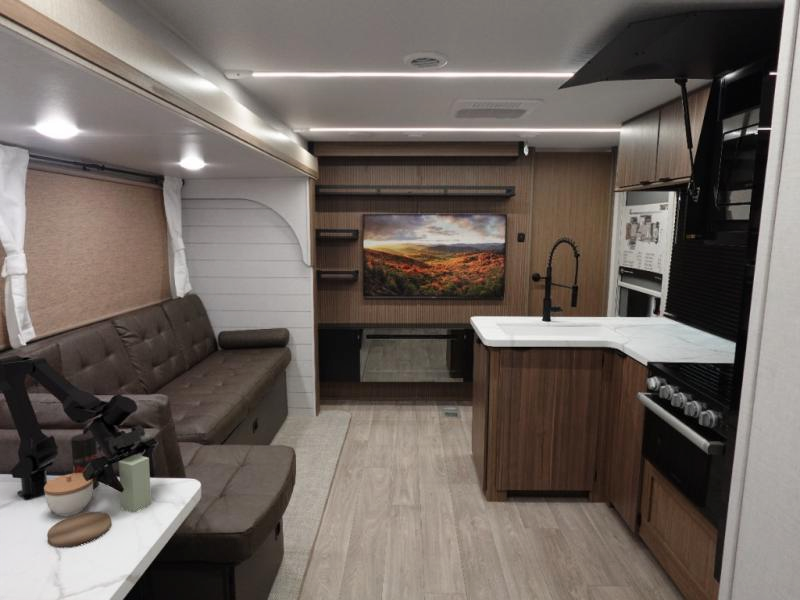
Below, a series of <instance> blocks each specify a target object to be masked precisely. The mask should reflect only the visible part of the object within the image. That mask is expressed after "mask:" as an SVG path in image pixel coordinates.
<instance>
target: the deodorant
mask: <svg viewBox="0 0 800 600" xmlns="http://www.w3.org/2000/svg"><path fill="white" fill-rule="evenodd" d="M70 442H71V454H72V455H71V457H72V469H73V471H72V474H73V473H83V470H84V469H85V468H86V466H87V465H88V464H89V463H90V461H92V460H95V459H97V458H98V449H97V448H98V443H97V441H96V440H95V438H94V436H93V435H92V433H88V434H83V433H80V434H77V435H74V436H72V437H71V440H70ZM99 485H100V482H98V481H94V482H93V490H95V489H97V488H98V487H99Z"/></svg>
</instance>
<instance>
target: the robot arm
mask: <svg viewBox="0 0 800 600" xmlns="http://www.w3.org/2000/svg"><path fill="white" fill-rule="evenodd" d="M27 375H29V376H30V377H31V378H33V379H34V381H36V382H37V383H38V384H39V385H40V386H41V387H43V388H44V389H45V390H46V392H47V391H48V392H49V393H50V394H51V395H52V396H53V397H54V398H56V399H57V400H58V401H59V402H60V403H61V405H62V409H63V412H64V413H65V414H66V415H67V417H68V418H69V419H70V420H71V421H72V422H73V423H74V424H84V423H85V422H88V421H89V420H92V421H91V422H88V423H85V424H84V428H83V430H82V434H88V433H92V435H93V436H94V438H95V440H96V444H97V445H98V446H97V451H98V452H103V454H104V455H105V456H104V455H102V456H100V457H97V459H95V460H92V461H90V463H89V464H88V465H87V466H86V468H85V469H84V470H83V477H84V478H85V480H86V481H89V480H91V479H92V481H93V482H94V481H98V482H99V484H100V483H101V484H103V485H105V486H107V487H110V488H112V489H113V490H116V492H119V493H121V492H123V491H124V488H123V486H122V484H121V483H120V479H119V478H118V477H117V475H116V474H115V472H114V468H113V465H116V464H119V461H122V460H124V459H126V458H129V457H131V456H134V455H140V456H144V457H147V458H149V470H150V478H154V477H155V476H156V473H155V472H156V471H155V467H154V462H153V453H154V451H155V450H156V448H157V446H158V445H159V442H158V441H157V439H156V438H155V437H152V436H150V437H148V438H146V439H143V440H142V437H144V436H145V434H146V431H145V429H144V428H143V426H142V425H141V424H139V425H136V426H134V427H131V429H130V430H131V431H129V432H125V431H124V430H121V431H120V430H119V426H123V424H124V423H125V422H126V421H127V420H128V419H129V418H130V417H131V416H132V415H134V413H136V411H137V410H138V405H137V403H136V402H135V400H134V399H132V398H130V397H128V396H124V395H122V394H121V393H117V394H114V395H113V397H111V398H110V400H109V401H105V400H101V399H100V398H99V397H97V396H95V394H92V393H91V392H88V391H85V390H80V389H79V388H78V387H76V386H75V385H74V384H73V383H71V382H70V381H69V380H68V379H66V377H65V376H63V375H62V374H61V373H60V372H59V371H57V370H56V368H54V367H53V366H52V365H50V364H49V363H48V360H47V359H46V358H45V357H42V356H34V357H33V356H19V355H18V354H10V355H5V356H2V357H0V391H1V392H2V393H3V396H4V400H5V401H6V405H7V407H8V409H9V412H10V415H11V418H12V421H13V423H14V426H15V429H16V431H17V435H18V437H19V439H20V442H19V446H18V451H17V454H18V463H16V464H15V465H14V466H13V468H11V470H10V474H11V476H12V478H14V479H20V481H21V482H20V483H21V490H19V491H17V492H16V493H17V495H18V496H19V497H20V498H22V499H24V500H25V501H27V500H31V499H33V498H36V496H37V497H39V496H42V495H45V492H44V486H45V485H46V484H47V483H48V479H47V469H48V468H50V467H52V466H53V465H54V462H55V459H57V456H58V449H59V447H58V445H57V442H56V439H55V437H54V436H53V435H50V436H47V435H46V434H44V433H43V431H42V429H41V426H40V424H39V420H38V418H37V415H36V412H35V409H34V407H33V405H32V401H31V399H30V397H29V396H30V395H29V394H28V391H27V388H26V384H25V383H26V379H27ZM137 442H138V444H137V445H136V443H137ZM135 445H136V447H134V446H135ZM132 447H134V448H132Z"/></svg>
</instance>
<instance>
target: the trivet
mask: <svg viewBox="0 0 800 600" xmlns="http://www.w3.org/2000/svg"><path fill="white" fill-rule="evenodd" d="M111 517H112V516H110V514H108V513H107V512H102V511H87V512H82V513H76V514H73V515H70V516H69V517H68V516H67V517H65V518H63V519H61V520H59V521H58V522H56V523H55V524H54V525H52V526H51V527H50V528H49V529H48V531H47V533H46V534H47V535H46V537H47V543H48V545H50V546H51V547H53V546H54V547H53V548H58V547H59V548H61V547H63V549H64V547H69V548H74V547H73V546H75V547H79V546H78V545H80V546H82V545H81V544H83V545H85V544H84V543H86V544H88V543H87V542H89V543H91V542H90V541H92V540H94V539H96V540H98V539H100V538H101V537H103V536H104V535H106V534H107V533H108V532H109V530H110V529H111V528H110V527H112V518H111ZM109 528H110V529H109ZM107 531H108V532H107ZM106 532H107V533H106ZM103 534H104V535H103ZM102 535H103V536H102ZM100 536H101V537H100ZM99 537H100V538H99ZM97 538H98V539H97ZM94 541H95V540H94ZM92 542H93V541H92ZM61 549H62V548H61Z"/></svg>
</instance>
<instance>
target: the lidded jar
mask: <svg viewBox="0 0 800 600" xmlns="http://www.w3.org/2000/svg"><path fill="white" fill-rule="evenodd" d="M93 490H94V489H93V481H92V479H91V480H89V481H86V480H85V478H84V477H83V473H73V472H72V473H68V474H65V475H61V476H57V477H55V478H53V479H51V480H50V481H47V484H46V485H45V486H44V492H45V494H44V498H45V502H46V504H47V507H48V508H49V510H50V511H52V512H53V513H54V514H58V515H57V516H59V515H61V516H60V517H67V516H66V515H69V516H73V515H76V514H79V513H80V512H82V511H83V510H84V509H85V507H86V506H87V505H88V504H89V502H90V501H91V499H92V496H93V492H94V491H93ZM82 509H83V510H82ZM81 510H82V511H81ZM79 511H80V512H79ZM75 513H76V514H75ZM72 514H73V515H72Z"/></svg>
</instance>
